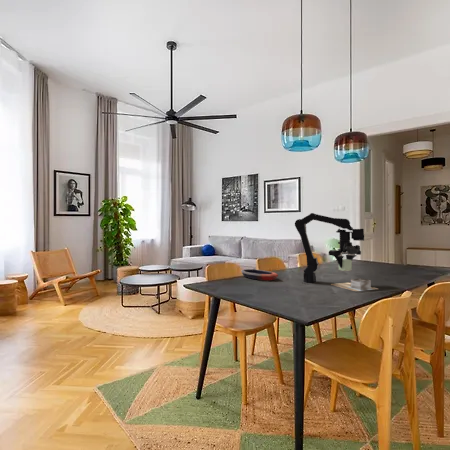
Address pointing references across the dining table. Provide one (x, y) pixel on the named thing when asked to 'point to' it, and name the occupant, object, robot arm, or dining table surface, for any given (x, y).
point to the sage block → (346, 265)
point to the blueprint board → (344, 285)
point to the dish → (259, 274)
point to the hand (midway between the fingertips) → (344, 267)
